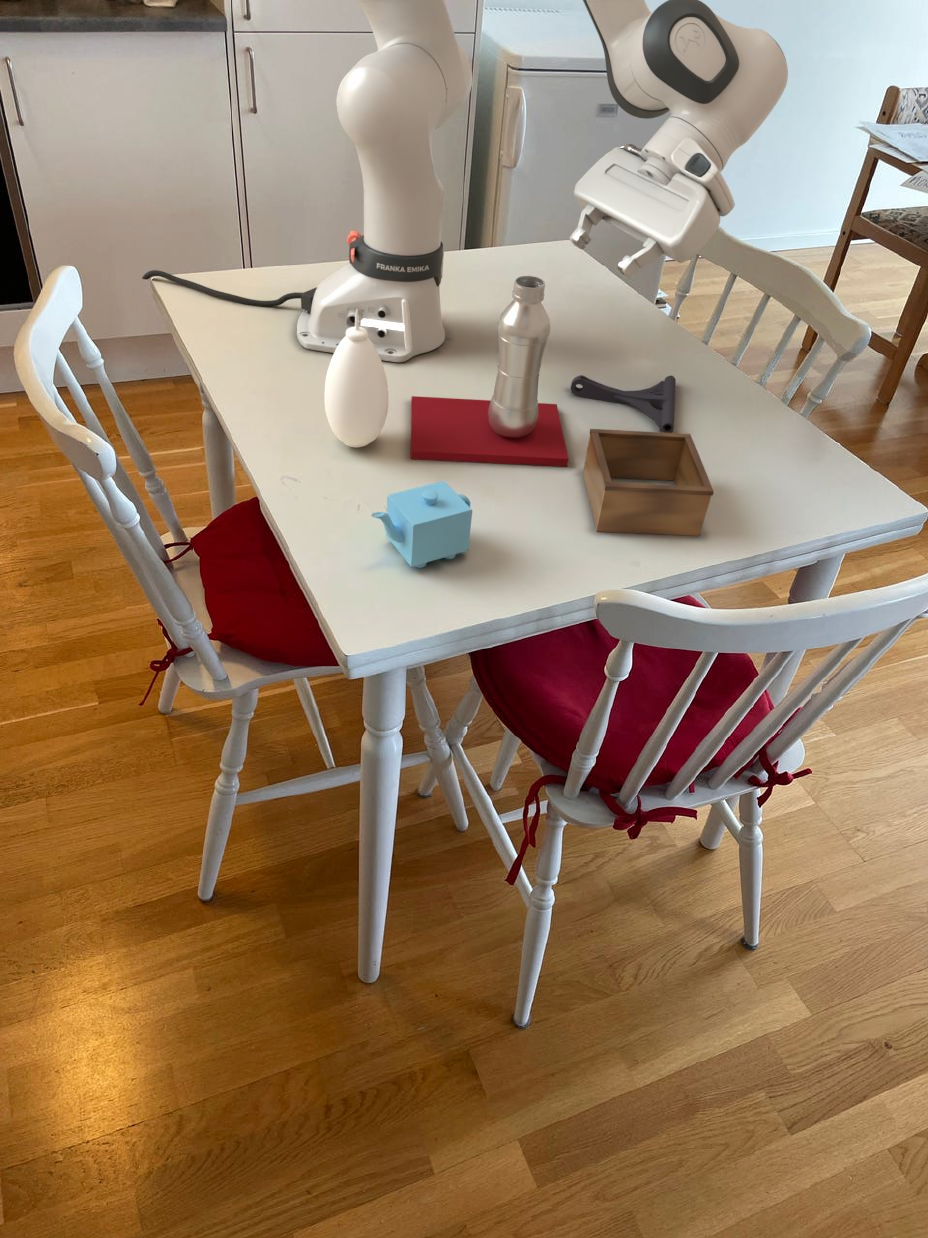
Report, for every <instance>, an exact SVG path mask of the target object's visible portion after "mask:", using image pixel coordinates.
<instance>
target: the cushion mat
mask: <svg viewBox="0 0 928 1238" xmlns="http://www.w3.org/2000/svg"><path fill="white" fill-rule="evenodd" d="M490 402H491V399H489V400H488V399H473V398H472V399H470V398H456V397H455V398H454V397H436V396H434V397H433V396H418V395H417V396H415V395H411V400H410V405H411V407H410V460H422V461H423V460H425V461H445V462H463V463H465V462H466V463H483V464H484V463H485V464H487V463H488V464H504V465H526V466H527V465H528V466H529V465H530V466H547V467H568V465H569V453H568V449H567V445H566V441H565V440H566V439H565V435H564V431H563V427H562V423H561V417H560V413H559V408H558V404H557V403H546V402H544V403H543V402H538V419H537V422H536V425H535V427H534V429H533V430H532V431H531V432H530V433H529V434H527V435H526V436H523V437H518V438H511V437H505V436H502V435H499V434H498V433H496V432H495V431H494V430H493V429H492V427H491V425H490V423H489V415H488V410H489V406H490Z"/></svg>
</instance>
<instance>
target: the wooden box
mask: <svg viewBox="0 0 928 1238" xmlns="http://www.w3.org/2000/svg"><path fill="white" fill-rule="evenodd" d="M582 475H583V479H584V485H585V489H586V493H587V498H588V501H589V506H590V510H591V514H592V518H593V523H594V526H595V527H594V528H595V531H596V532H602V533H626V534H627V533H628V534H648V535H649V534H651V535H673V536H692V537H693V536H694V537H695V536H697V537H699V536H700V534H701V531H702V528H703V525H704V522H705V519H706V515H707V511H708V508H709V505H710V501H711V498H712V496H713V495H714V492H715V491H714V488H713V487H712V483H711V481H710V479H709V476H708V474H707V471H706V469H705V467H704V464H703V461H702V459H701V457H700V454H699V452H698V449H697V447H696V444H695V441H694V439H693V437H692V434H691V433H678V432H677V433H676V432H672V433H664V432H663V431H661V432H659V431H643V430H642V431H640V430H622V429H601V428H589V439H588V443H587V448H586V453H585V459H584V465H583V470H582ZM612 478H617V479H619V478H620V479H639V480H661V481H674V484H655V483H654V484H653V483H631V482H612Z"/></svg>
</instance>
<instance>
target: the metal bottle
mask: <svg viewBox="0 0 928 1238" xmlns="http://www.w3.org/2000/svg"><path fill="white" fill-rule="evenodd" d="M545 288H546V282H545V280H544V279H542V278H540V277H537V276H533V275H520V276H518V277H516V278H515V280H514V284H513V290H512V291H511V296H512V299H513V300H512V301H510V303H509V304H508V305H507V306H506V307H505V308H504V310H503V311H502V312H501V314H500V316H499V318H498V322H497V340H498V341H497V343H498V345H497V346H498V355H497V357H498V359H497V374H496V378H495V384H494V390H493V394H492V396H491V398H490V400H491V402H490V406H489V410H488V415H489V423H490V425H491V427H492V429H493V430H494V431H495V432H496V433H498V434H499V435H502V436H505V437H511V438H518V437H523V436H526V435H527V434H529V433H530V432H531V431H532V430H533V429H534V427H535V425H536V422H537V419H538V403H539V399H538V395H539V377H540V372H541V367H542V363H543V356H544V352H545V350H546V346H547V344H548V339H549V336H550V332H551V321H550V317H549V315H548V313H547V311H546V309H545V307H544V305H543V304H542V302H543V301H544V300H545Z"/></svg>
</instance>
